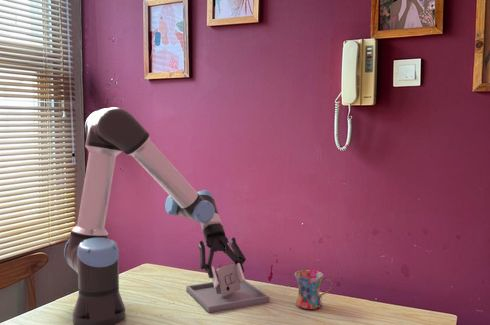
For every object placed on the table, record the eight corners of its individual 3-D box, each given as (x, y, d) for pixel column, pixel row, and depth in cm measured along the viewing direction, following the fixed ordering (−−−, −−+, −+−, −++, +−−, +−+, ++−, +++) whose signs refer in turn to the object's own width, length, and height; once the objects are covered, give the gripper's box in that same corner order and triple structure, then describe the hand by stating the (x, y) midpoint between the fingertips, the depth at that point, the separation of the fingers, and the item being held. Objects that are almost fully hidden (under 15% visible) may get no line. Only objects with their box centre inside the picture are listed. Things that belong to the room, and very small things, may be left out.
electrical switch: (223, 297, 150) (221, 269, 150) (212, 295, 153) (210, 268, 153) (241, 290, 157) (239, 263, 157) (230, 288, 160) (228, 262, 160)
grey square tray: (208, 313, 141) (208, 307, 141) (186, 291, 160) (186, 285, 160) (269, 302, 150) (269, 296, 150) (241, 282, 170) (241, 277, 169)
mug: (293, 310, 143) (293, 277, 143) (295, 300, 153) (295, 269, 152) (331, 313, 141) (332, 280, 140) (331, 302, 150) (332, 271, 150)
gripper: (236, 231, 173) (255, 284, 159) (181, 236, 163) (196, 293, 150) (242, 219, 167) (262, 274, 154) (186, 224, 158) (202, 282, 145)
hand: (230, 283), depth 152 cm, fingers closed on electrical switch, 9 cm apart
